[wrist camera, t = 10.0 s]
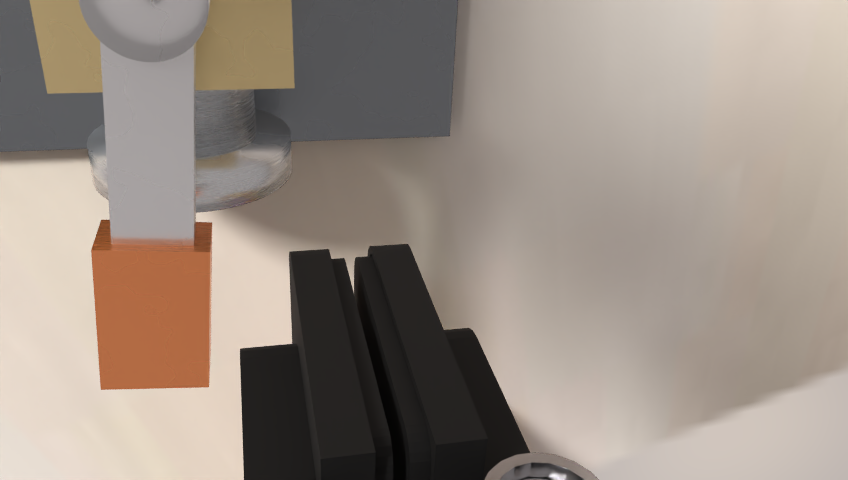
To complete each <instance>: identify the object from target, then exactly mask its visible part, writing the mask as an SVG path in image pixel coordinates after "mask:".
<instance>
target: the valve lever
mask: <svg viewBox="0 0 848 480" xmlns="http://www.w3.org/2000/svg"><path fill="white" fill-rule="evenodd" d="M79 5H80V9H81V12H82V15H83V17H84V19H85V21H86V23H87V25H88V27H89V28H90V30H91V31H92V32H93V34H94V35H95V36H96V37H97V38H98V39H99V40H100V50H101V69H102V87H103V105H104V123H105V141H106V159H107V177H108V195H109V213H110V220H101V222H100V226H99V229H98V232H97V235H96V238H95V241H94V244H93V247H92V250H91V252H92V267H93V282H94V296H95V311H96V325H97V340H98V354H99V369H100V383H101V390H105V389H149V388H192V387H209V375H210V355H211V275H212V223H207V222H196V42H197V40H198V39H199V38H200V36H201V34H202V33H203V31H204V28H205V26H206V23H207V18H208V13H209V6H210V0H79Z"/></svg>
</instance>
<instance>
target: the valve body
mask: <svg viewBox="0 0 848 480" xmlns="http://www.w3.org/2000/svg"><path fill="white" fill-rule="evenodd" d="M457 7H458V0H210V6H209V13H208V18H207V23H206V26H205V28H204V31H203V33H202V34H201V36H200V38H199V39H198V40H197V42H196V213H197V212H207V211H215V210H221V209H226V208H231V207H236V206H239V205H243V204H247V203H250V202H253V201H256V200H258V199H260V198H263V197H265V196H267V195H269V194H271V193H273V192H274V191H276V190H277V189H279V188H280V187H282V186H283V185H284V184H285V183H286V182H287V180H288V179H289V177H290V175H291V172H292V157H291V142H292V141H321V140H350V139H378V138H407V137H436V136H450V120H451V104H452V88H453V72H454V55H455V39H456V23H457ZM63 149H88V154H89V159H90V165H91V171H92V177H93V183H94V186H95V188H96V190H97V191H98V192H99V193H100V194H101V195H102V196H103V197H105V198H106V199H108V200H109V195H108V177H107V159H106V141H105V123H104V105H103V87H102V69H101V50H100V40H99V39H98V38H97V37H96V36H95V35H94V34H93V32H92V31H91V30H90V28H89V27H88V25H87V23H86V21H85V19H84V17H83V15H82V12H81V9H80V5H79V0H0V152H5V151H34V150H63Z"/></svg>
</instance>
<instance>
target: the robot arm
mask: <svg viewBox="0 0 848 480" xmlns="http://www.w3.org/2000/svg"><path fill="white" fill-rule="evenodd" d="M289 267H290V293H291V319H292V344H286V345H275V346H264V347H253V348H242V349H240V366H241V397H242V428H243V459H244V480H599V479H598V478H597V477H596V476H595V475H594V474H593V473H592V472H591V471H589V470H588V469H586V468H584V467H583V466H581V465H579V464H578V463H576V462H574V461H572V460H569V459H566V458H563V457H560V456H557V455H554V454H545V453H536V452H534V453H530V451H529V449H528V447H527V445H526V443H525V441H524V438H523V436H522V434H521V432H520V430H519V428H518V425H517V423H516V421H515V419H514V417H513V415H512V412H511V410H510V408H509V406H508V404H507V402H506V399H505V397H504V395H503V393H502V391H501V389H500V386H499V384H498V382H497V380H496V378H495V376H494V373H493V371H492V369H491V367H490V365H489V363H488V360H487V358H486V356H485V354H484V352H483V350H482V348H481V345H480V343H479V341H478V339H477V337H476V335H475V333H474V332H473V330H471V329H470V328H463V329H452V330H443V327H442V325H441V322H440V320H439V317H438V315H437V313H436V310H435V308H434V305H433V303H432V300H431V298H430V295H429V293H428V290H427V288H426V286H425V283H424V281H423V278H422V276H421V273H420V271H419V268H418V266H417V263H416V261H415V259H414V256H413V254H412V251H411V249H410V247H409V245H408V244H399V245H384V246H370V247H369V250H368V257H356V258H355V265H354V293H353V289H352V285H351V281H350V277H349V273H348V270H347V266H346V262H345V259H344V258H340V259H331V256H330V252H329V250H328V249H324V250H308V251H293V252H289Z"/></svg>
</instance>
